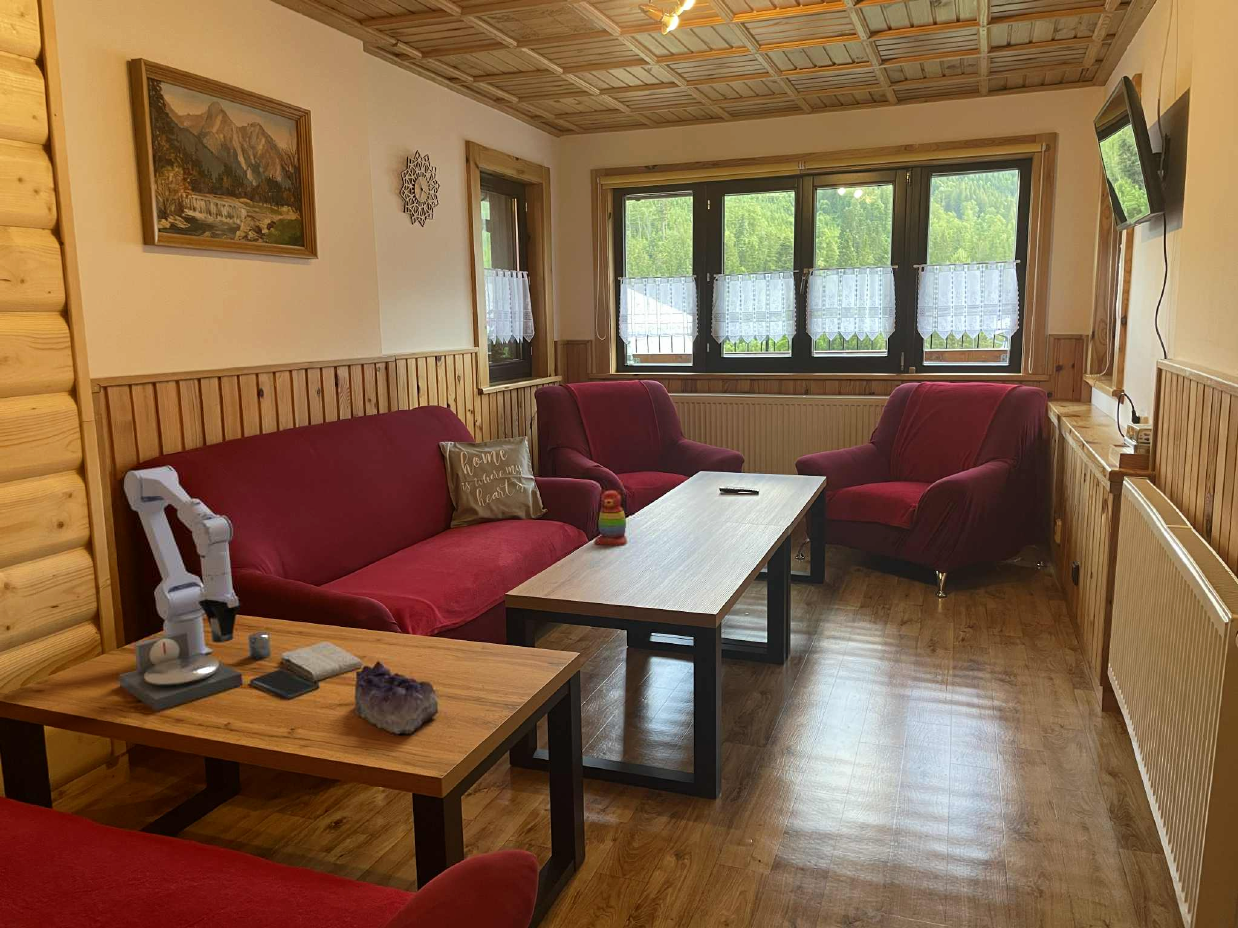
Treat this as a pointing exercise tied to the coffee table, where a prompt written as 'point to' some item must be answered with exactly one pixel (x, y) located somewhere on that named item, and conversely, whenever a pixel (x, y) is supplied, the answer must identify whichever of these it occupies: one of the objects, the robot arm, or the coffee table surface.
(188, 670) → the pan
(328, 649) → the washcloth
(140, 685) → the scale
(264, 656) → the cylinder
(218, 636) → the cylinder
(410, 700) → the geode
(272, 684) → the phone
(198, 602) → the robot arm
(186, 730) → the coffee table surface
